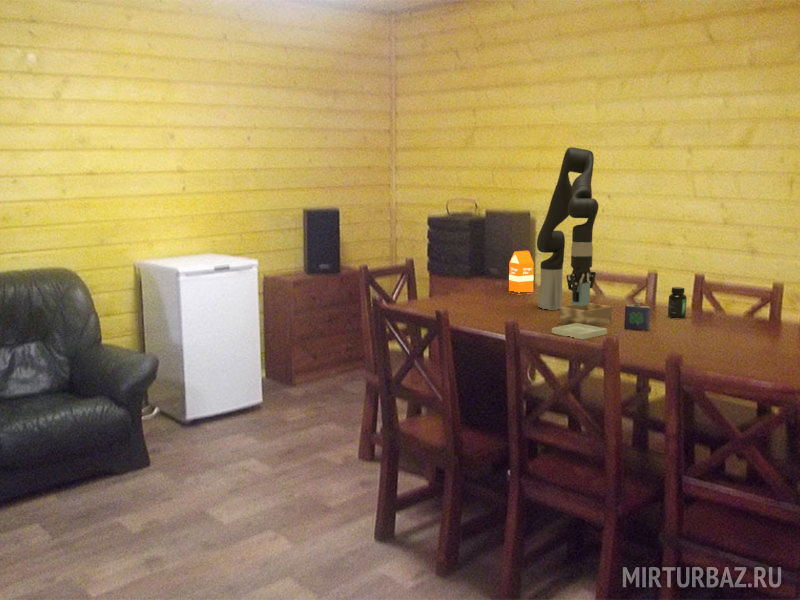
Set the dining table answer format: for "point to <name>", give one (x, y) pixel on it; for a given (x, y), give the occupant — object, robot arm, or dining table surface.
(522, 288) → the orange juice
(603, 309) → the crate
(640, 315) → the flask
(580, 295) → the block
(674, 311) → the supplement bottle
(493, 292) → the dining table surface
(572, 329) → the plate
